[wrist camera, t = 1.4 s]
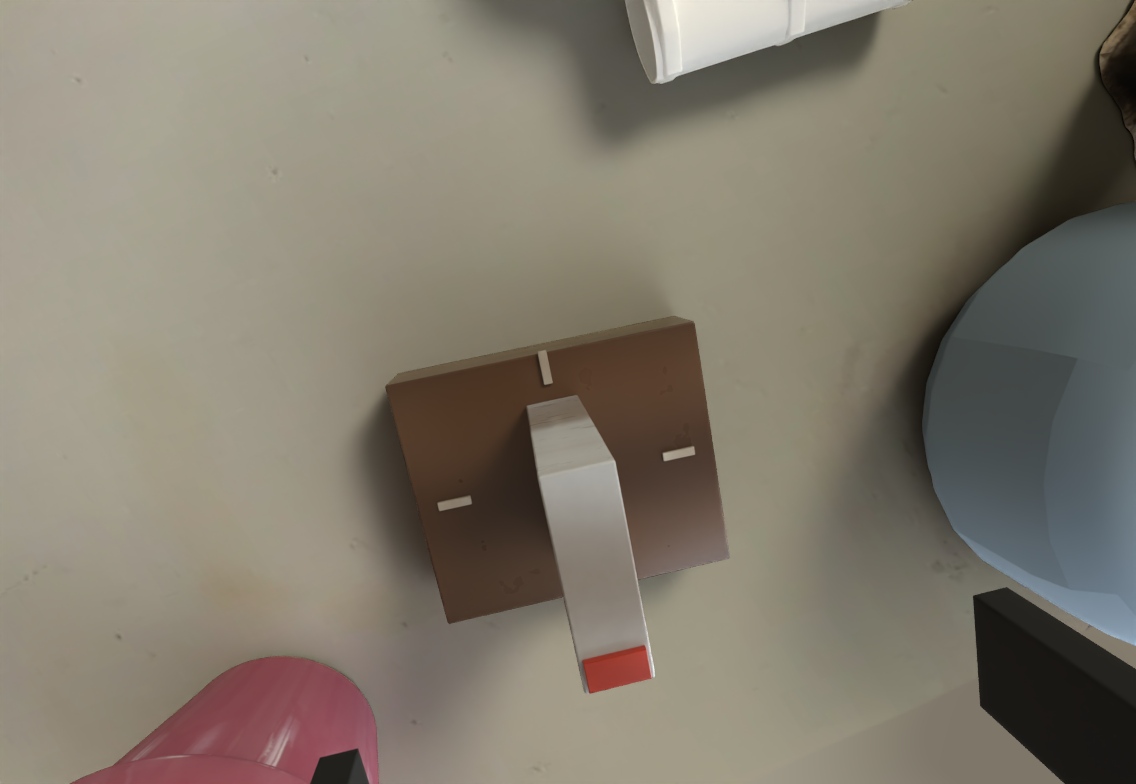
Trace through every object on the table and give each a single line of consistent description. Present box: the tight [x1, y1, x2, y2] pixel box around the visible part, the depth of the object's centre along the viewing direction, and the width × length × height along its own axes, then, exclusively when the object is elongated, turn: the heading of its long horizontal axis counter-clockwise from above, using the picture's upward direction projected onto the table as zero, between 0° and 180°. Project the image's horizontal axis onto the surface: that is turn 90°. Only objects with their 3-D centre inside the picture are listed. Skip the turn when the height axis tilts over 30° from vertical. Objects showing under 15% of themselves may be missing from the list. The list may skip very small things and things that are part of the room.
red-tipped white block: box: [526, 395, 655, 694], centre depth 22 cm, size 7×2×9 cm, turn 11°
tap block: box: [385, 316, 730, 624], centre depth 28 cm, size 11×13×3 cm
